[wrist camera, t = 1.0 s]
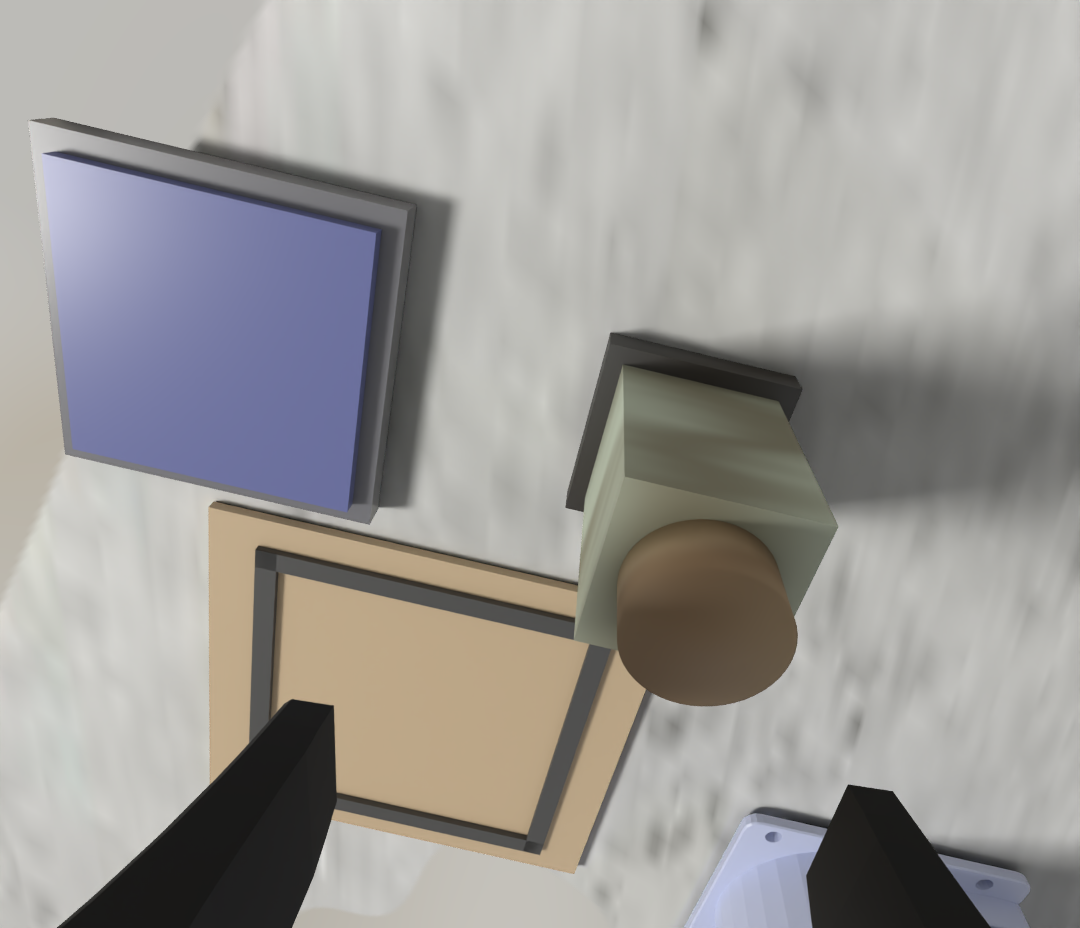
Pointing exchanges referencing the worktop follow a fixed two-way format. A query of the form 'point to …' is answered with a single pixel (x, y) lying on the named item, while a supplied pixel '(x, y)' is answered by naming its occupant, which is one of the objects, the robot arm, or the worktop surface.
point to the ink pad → (221, 317)
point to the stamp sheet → (419, 684)
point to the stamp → (694, 522)
